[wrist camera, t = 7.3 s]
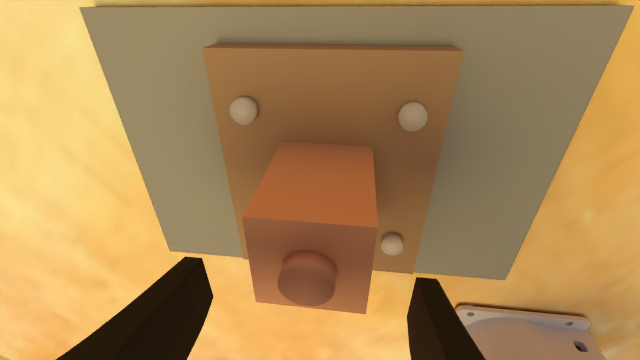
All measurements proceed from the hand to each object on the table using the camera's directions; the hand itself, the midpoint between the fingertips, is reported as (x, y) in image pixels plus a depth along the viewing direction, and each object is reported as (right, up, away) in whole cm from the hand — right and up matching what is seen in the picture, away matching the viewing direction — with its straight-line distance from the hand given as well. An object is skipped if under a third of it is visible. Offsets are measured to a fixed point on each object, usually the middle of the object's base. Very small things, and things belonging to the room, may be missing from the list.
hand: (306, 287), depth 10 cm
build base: (+1, +5, +8) cm, 9 cm away
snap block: (+1, +4, +6) cm, 7 cm away
